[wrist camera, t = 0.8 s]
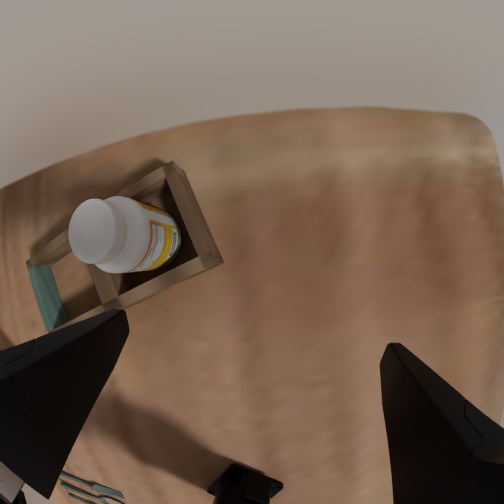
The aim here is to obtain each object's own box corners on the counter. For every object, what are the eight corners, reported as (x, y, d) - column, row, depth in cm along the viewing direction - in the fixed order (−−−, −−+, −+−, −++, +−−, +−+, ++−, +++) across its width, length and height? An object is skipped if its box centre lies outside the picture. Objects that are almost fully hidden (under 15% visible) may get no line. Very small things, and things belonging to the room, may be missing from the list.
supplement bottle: (122, 230, 25) (51, 218, 15) (166, 199, 25) (105, 169, 15) (146, 280, 25) (78, 291, 15) (193, 250, 24) (139, 245, 15)
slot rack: (184, 171, 24) (172, 160, 22) (224, 262, 24) (215, 263, 21) (43, 261, 26) (26, 261, 23) (68, 335, 26) (51, 341, 23)
